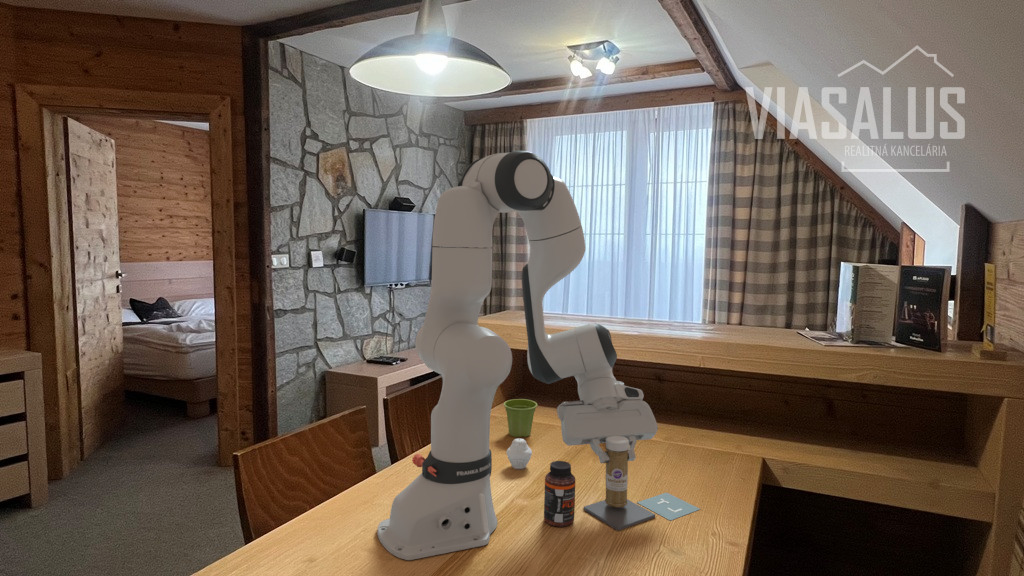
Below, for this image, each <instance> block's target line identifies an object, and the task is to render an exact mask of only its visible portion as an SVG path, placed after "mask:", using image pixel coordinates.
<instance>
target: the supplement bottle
mask: <svg viewBox="0 0 1024 576" xmlns="http://www.w3.org/2000/svg"><path fill="white" fill-rule="evenodd" d="M543 501H544V502H543V503H544V505H543V506H544V507H543V519H544V521H545V522H546V523H547V524H549V525H550V526H554V527H559V528H560V527H562V528H564V527H567V526H571V525H572V524H573V523H574V521H575V511H576V510H575V507H576V505H575V502H576V477H575V476H574V474H572V465H571V463H570V462H568V461H565V460H555V461H552V462H551V463H550V466H549V471H548V473H546V474H545V477H544V500H543Z"/></svg>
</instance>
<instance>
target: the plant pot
mask: <svg viewBox="0 0 1024 576" xmlns="http://www.w3.org/2000/svg"><path fill="white" fill-rule="evenodd" d="M503 407H504V408H505V411H506V412H505V413H506V418H507V420H506V421H507V426H508V427H507V428H508V433H509V435H510V436H511V437H515V438H520V437H524V438H526V437H529V436H531V433H532V427H533V423H534V422H533V421H534V415H535V412H536V408H537V407H538V403H537V402H536V401H534V400H531V399H525V398H517V399H508V400H506V401H504V403H503Z"/></svg>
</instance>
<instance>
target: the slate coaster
mask: <svg viewBox="0 0 1024 576" xmlns="http://www.w3.org/2000/svg"><path fill="white" fill-rule="evenodd" d="M583 510H584V511H586V512H587V513H588V514H590V515H592V516H593V517H595V518H596V519H598V520H600V521H601V522H603V523H605V524H606V525H607V526H609V527H611V528H613V529H614V530H615V531H617V532H618V531H622V530H624V529H626V528H627V529H628V528H630V527H633V526H636V525H639V524H641V523H644V522H646V521H649V520H652V519H655V518H656V513H655V512H653V511H651V510H649V509H647V508H645V507H643V506H642V505H640V504H638V503H635V502H633V501H631V500H629V498H627V505H625V506H624V507H612V506H610V505H608V504H606V502H605V499H603V500H601V501H597V502H594V503H591V504H587V505H585V506H583Z"/></svg>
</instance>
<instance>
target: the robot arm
mask: <svg viewBox="0 0 1024 576" xmlns="http://www.w3.org/2000/svg"><path fill="white" fill-rule="evenodd" d="M513 212H516V213H517V214H518V215H519V217H520V218H521V220H522V221H523V224H524V227H525V232H526V235H527V239H528V242H529V248H530V249H529V257H528V262H527V263H526V264H525V265H523V267H522V270H521V287H522V288H521V289H522V299H523V300H522V302H523V311H524V319H525V326H526V327H525V328H526V335H527V348H526V349H527V352H526V356H527V366H528V369H529V371H530V374H531V375H532V377H533V378H534V379H536V380H537V381H540V382H542V383H545V384H547V385H550V384H552V383H555V382H558V381H561V380H563V379H565V378H569V377H574V378H575V380H576V382H577V393H578V397H579V400H573V401H562V402H561V403H560V404H559V405H558V406H557V407H556V412H557V417H558V419H559V420H560V428H561V436H562V438H561V439H562V441H563V443H564V444H565V445H567V446H580V445H581V446H583V445H590V449H591V450H592V452H594V453H595V455H596V456H597V457H598V459H599V463H600V464H606V463H608V462H609V460H610V458H609V456H608V452H607V451H604V450H603V448H602V447H601V446H600V444H606V438H607V437H612V436H623V437H626V438H627V439H628V440H629V449H628V462H631V461H632V462H633V461H635V460H636V456H637V455H636V453H635V447H636V443H637V441H646V440H652V439H653V438H654V437H655V436H656V434H657V433H658V429H659V427H658V423H657V420H656V418H655V415H654V413H653V410H652V409H651V407H650V405H649V404H648V403H647V402H646V401H644V400H643V399H644V396H645V395H644V392H643V390H642V389H641V388H640V389H639V388H635V387H631V386H628V385H625V384H624V385H621V384H618V383H617V381H618V380H617V379H616V377H615V376H614V373H613V368H614V366H615V363H616V361H617V359H618V356H617V355H618V353H617V352H616V349H615V347H614V345H613V340H612V336H611V333H610V330H609V329H608V328H606V327H605V326H603V325H602V324H599V323H597V322H595V323H588V324H584V325H581V326H578V327H574V328H572V329H571V328H570V329H567V330H564V331H560V332H559V331H558V332H555V333H550V334H549V333H546V328H545V327H546V326H545V317H544V307H543V306H544V305H543V301H544V297H545V295H546V294H547V292H548V291H550V289H551V288H553V287H554V286H555V285H556V284H558V283H559V282H560V281H561V280H563V279H565V278H566V277H567V276H568V275H570V274H571V273H572V272H574V270H575V269H576V268H578V266H580V263H581V262H582V260H583V258H584V256H585V252H586V242H585V233H584V229H583V225H582V221H581V218H580V215H579V212H578V210H577V207H576V204H575V201H574V198H573V197H572V194H571V192H570V190H569V188H568V186H567V184H566V183H565V182H564V181H563V180H562V179H561V178H558V177H556V176H554V175H553V174H552V173H551V171H550V169H549V167H548V165H547V163H546V161H544V160H543V158H541V157H540V156H539V155H538V154H536V153H534V152H531V151H527V150H514V151H511V152H510V151H509V152H498V153H494V154H493V153H492V154H490V155H487V156H485V157H481V158H477V159H476V160H474V161H473V162H471V163H470V164H469V165H468V166H467V167H466V168H465V170H464V171H463V173H462V175H461V177H460V180H459V183H457V186H454V187H450V188H448V189H446V190H445V191H443V192H442V193H441V194H440V196H439V198H438V199H437V204H436V209H435V212H434V213H435V214H434V219H433V220H434V221H433V229H432V242H431V243H432V247H431V248H432V250H431V251H432V253H431V254H432V255H431V285H430V286H431V287H430V294H429V300H428V303H427V304H428V305H427V309H426V313H425V317H424V321H423V324H422V326H421V327H420V329H419V330H418V332H417V334H416V336H415V342H414V343H415V345H414V346H415V351H416V355H418V357H419V358H420V360H421V361H422V362H423V364H424V365H425V366H426V367H427V368H428V369H430V370H431V371H433V372H435V373H436V374H439V375H441V379H442V386H441V392H440V396H439V400H438V402H437V404H436V405H435V406H434V407H433V408H432V410H431V414H430V450H429V452H428V455H427V456H426V458H425V457H424V456H423V455H421V454H419V453H416V454H414V455H413V457H412V460H411V461H412V464H414V465H415V466H416V467H418V468H421V473H420V474H419V475H418V476H417V477H416V478H415V479H414V480H413V481H411V483H409V484H408V485H407V486H406V487H405V488H404V489H403V490H401V491H400V492H399V493H398V494H397V495H396V496H395V497H394V499H393V500H392V504H391V508H390V515H389V518H387V519H386V518H385V519H384V520H381V521H380V522H379V524H378V526H377V532H376V533H377V538H378V540H379V542H380V543H381V545H382V546H383V547H384V549H386V551H387V552H389V553H390V554H391V555H393V556H395V557H397V558H399V559H402V560H405V561H412V560H417V559H422V558H428V557H432V556H433V557H434V556H438V555H444V554H447V553H453V552H458V551H463V550H468V549H473V548H478V547H484V546H485V545H488V544H489V541H490V536H491V534H493V532H494V530H496V528H497V526H498V519H497V518H498V517H497V516H496V512H495V507H494V503H493V496H492V488H491V487H492V486H491V476H492V468H493V466H492V465H493V464H492V463H493V462H492V461H493V460H492V458H493V457H492V450H491V449H490V441H491V439H490V436H491V435H490V429H491V428H490V427H491V425H490V424H491V413H492V406H493V403H494V399H495V395H496V392H497V389H498V388H499V386H500V385H501V384H502V383H504V381H505V380H506V379H507V378H508V376H509V375H510V372H511V370H512V365H513V353H512V350H511V348H510V345H509V343H508V342H507V341H506V340H504V338H502V337H501V336H500V335H499V334H497V333H496V332H495V331H493V330H491V329H490V328H487V327H484V326H480V325H479V323H478V322H479V317H480V313H481V309H482V306H483V303H484V301H485V299H486V298H487V297H488V296H489V295H490V293H491V291H492V286H493V285H492V283H493V282H492V281H493V280H492V279H493V278H492V277H493V228H494V223H495V221H496V219H497V216H498V214H499V213H502V214H506V213H513Z"/></svg>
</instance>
